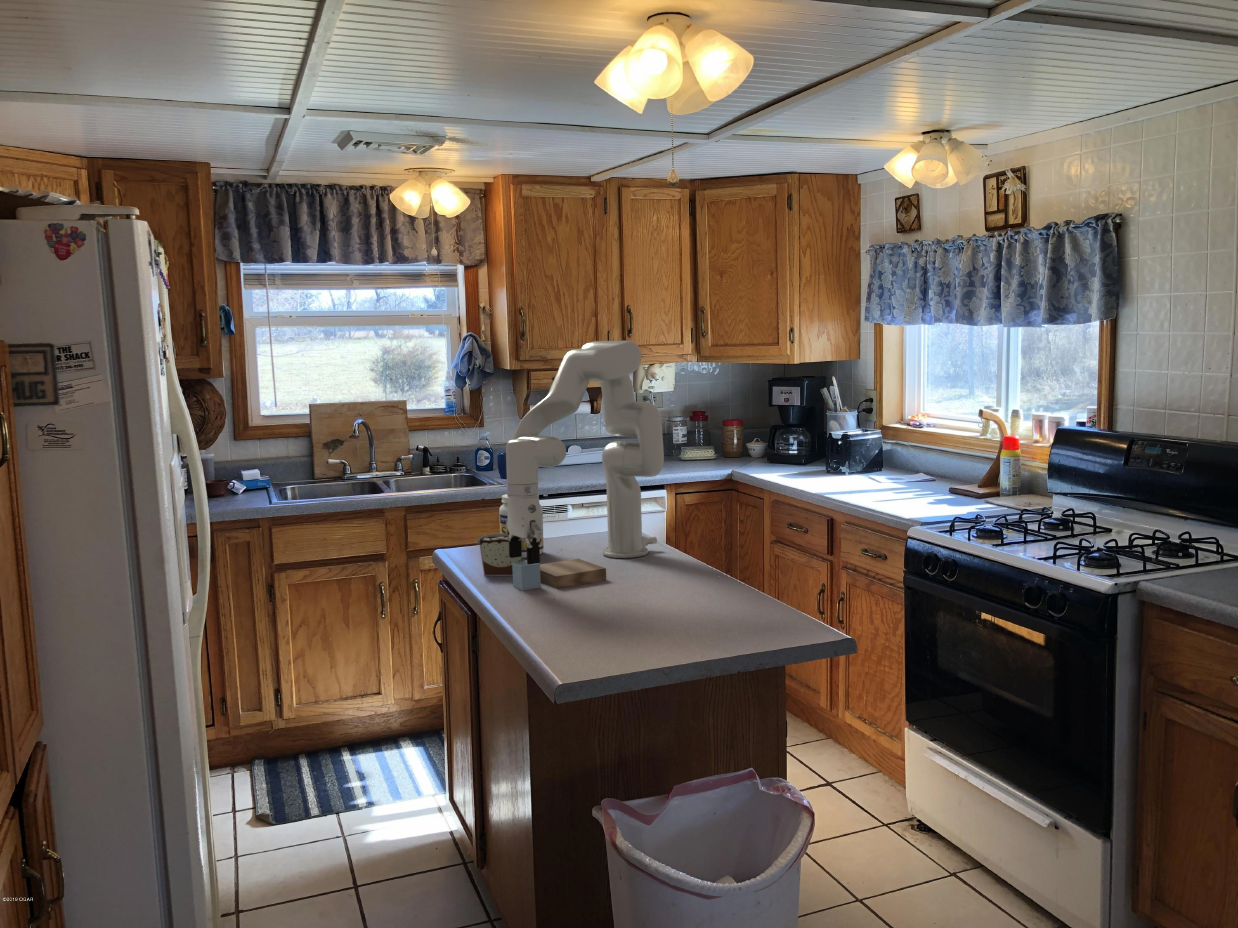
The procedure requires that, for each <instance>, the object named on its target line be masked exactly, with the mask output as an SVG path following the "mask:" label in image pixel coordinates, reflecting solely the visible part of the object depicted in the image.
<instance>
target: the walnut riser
mask: <svg viewBox="0 0 1238 928" xmlns="http://www.w3.org/2000/svg"><path fill="white" fill-rule="evenodd" d="M540 580H541V584H545V585H547V586H549V587H553V588H554V589H562V588H567V587H572V586H573V587H574V586H579V585H584V584H591V583H596V582H597V583H598V582H602V581H607V568H606V567H605V566H601V565H598V564H595V563H592V562H590V561H587V560H583V559H580V558H574V559H567V560H561V561H556V562H549V563H542V564H541V563H540Z"/></svg>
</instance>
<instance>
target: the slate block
mask: <svg viewBox="0 0 1238 928" xmlns="http://www.w3.org/2000/svg"><path fill="white" fill-rule="evenodd" d="M540 564H541V563H537V564H527V560H521V561H520V562H514V563H512V569H513V576H512V587H513V588H515V589H517V590H520V591H528V590H533V589H539V588H540V589H541V587H542V585H541V584H542V582H541V580H540Z"/></svg>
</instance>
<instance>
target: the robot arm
mask: <svg viewBox="0 0 1238 928" xmlns="http://www.w3.org/2000/svg"><path fill="white" fill-rule="evenodd" d="M641 362H642V351H641V349H640V347H639V345H638V344H637V343H636V342H635V341H632V340H596V341H590V342H586V343H585V344H584V345H582V346H581V348H576V349H572V350H569V351H568V352H567V353H566V354H565V355H564V356H563V358H562V360H561V363H560V365H559V368H558V370H557V371H556V374H555V376H554V379H553V381H552V384H551V386H550V388H549V391H548V393H547V395H546V397H544V398H543V399H542V400H541V401H539V402H538V403H537V404H536V405H534V406H533V407H532V408H531V409H530V410H529V411H528V412H526V414H525V415H524V416H523V417H522V419H521V420H520V422H519V424H518V425H517V428H516V430H515V433H514V435H513V438H512V439H510V440H508V441H507V443H506V445H505V454H506V455H505V459H506V460H505V461H506V464H505V465H506V466H505V467H506V494H507V497H509V499H508V521H507V522H506V526H507V533H508V541H511V542H509V557H510V558H515V557H521V556H522V542H521V540H520V538H523V539H526V542H527V545H528V547H529V548H527V558H526V561H527V564H537V563H540V562H541V554H540V542H541V536H542V521H541V510H540V505H541V503H540V497H539V498H538V495H539V468H541V467H542V468H554V467H556V466H559V465H561V464H562V463H563V461H564V460H565V458H566V456H567V447H566V445H565V443H564V442H563V441H562V440H561V439H559V438H558V437H555V436H546V435H545V436H543V435H540V434H541V433H542V432H543V431H544V430H545V429H546V428H547V427H549V426H550V425H552V424H553V423H556V422H558V421H561V420H564V419H566V418H568V417H570V416H572V415H573V414H575V413H576V412H578V410H579V408H580V405H581V403H582V400H583V398H584V395H585V393H586V392H587V388H588V386H589V385H590V383H592V382H593V383H594V382H595V383H599V384H600V388H601V394H602V405H603V406H602V407H603V419H604V420H603V421H604V427H605V430H606V431H607V433H608V434H610V435H611V436H615V437H624V438H625V437H626V438H637V441H635V440H615V441H611V442H609V443H608V444H606V445H605V447H604V448H603V449H602V453H601V463H602V468H603V471H604V477H605V486H606V487H605V488H606V510H607V511H606V512H607V517H606V518H607V547H605V548H603V549H602V555H603V556H605V557H607V558H615V559H630V558H632V559H633V558H639V557H644V556H646V555H648V552H649V549H648V548H647V546H648V545H655V544H658V539H657V537H656V536H650V537H648V536H644V535H643V526H642V525H643V522H642V521H643V520H642V492H641V487H640V483H639V482H638V480H637V478H636V477H644V478H652V477H653V478H654V477H656V476H658V475H660V473H661V472H662V470H663V468H664V462H665V456H664V455H665V454H664V450H665V449H664V440H663V424H662V417H661V412H660V411H659V409H658V407H657V406H656V405H654V404H653V403H651V402H647V401H636V400H635V396H634V388H633V387H634V386H633V382H632V381H633V380H632V379H631V377H630V375H631V374H632V373H634V372H636V370H637V369H639V367H640V364H641ZM530 539H532V541H531V540H530ZM540 564H541V563H540Z"/></svg>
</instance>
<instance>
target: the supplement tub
mask: <svg viewBox="0 0 1238 928" xmlns="http://www.w3.org/2000/svg"><path fill="white" fill-rule="evenodd" d="M538 498H539V499H540V495H539V494H538ZM508 499H509V497H507V493H505V494H503V495H501V503H502V505H500V507H499V509H498V510H499V511H498V515H499V517H498V518H499V519H498V520H499V533H507V526H506V522H507V521H508ZM540 510H541V521H542V536H541V542H540V555H541V554H543V552H544V550H545V549H544V548H545V547H544V515H543V511H544V509H543V506H542V504H540ZM530 540H531V541H532V539H530ZM524 543H525V545H524ZM524 543H522V559H527V548H529V547H528V545H527V542H526V539H524Z"/></svg>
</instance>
